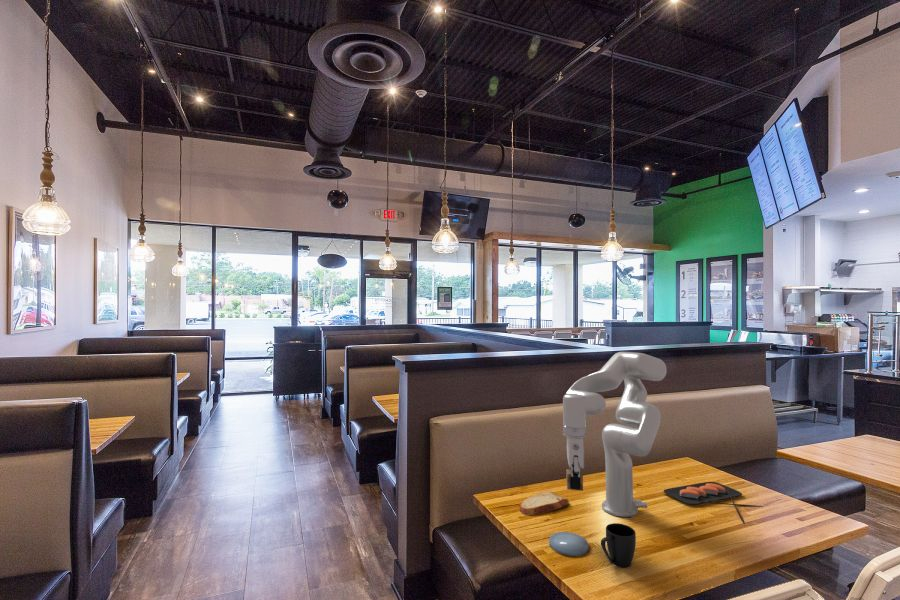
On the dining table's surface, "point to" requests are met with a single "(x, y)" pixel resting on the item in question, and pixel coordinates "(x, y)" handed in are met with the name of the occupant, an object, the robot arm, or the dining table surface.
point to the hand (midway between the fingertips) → (574, 485)
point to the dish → (568, 543)
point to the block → (568, 474)
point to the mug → (619, 544)
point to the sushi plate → (705, 494)
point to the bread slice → (542, 503)
